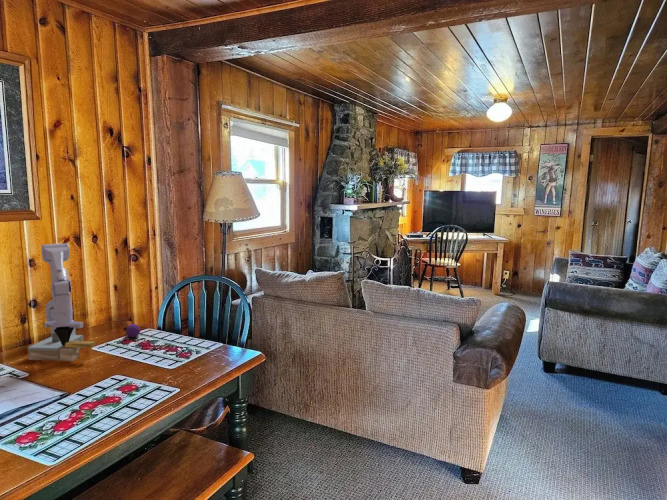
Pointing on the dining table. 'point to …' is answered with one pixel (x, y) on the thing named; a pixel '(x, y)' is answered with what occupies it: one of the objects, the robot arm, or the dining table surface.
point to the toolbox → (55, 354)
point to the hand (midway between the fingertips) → (65, 345)
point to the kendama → (132, 329)
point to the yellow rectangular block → (80, 344)
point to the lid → (52, 343)
